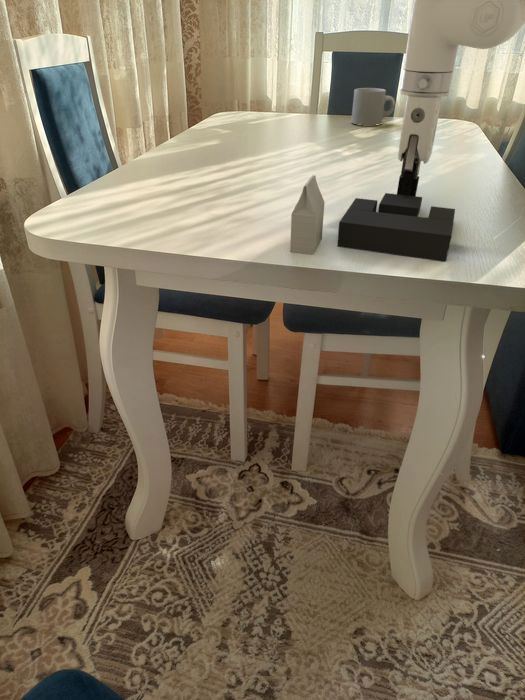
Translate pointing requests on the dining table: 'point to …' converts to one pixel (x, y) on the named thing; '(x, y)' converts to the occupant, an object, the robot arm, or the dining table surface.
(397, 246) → the big black notched block
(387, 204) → the small pad
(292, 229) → the grey milk carton
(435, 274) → the dining table surface
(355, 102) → the coffee mug
